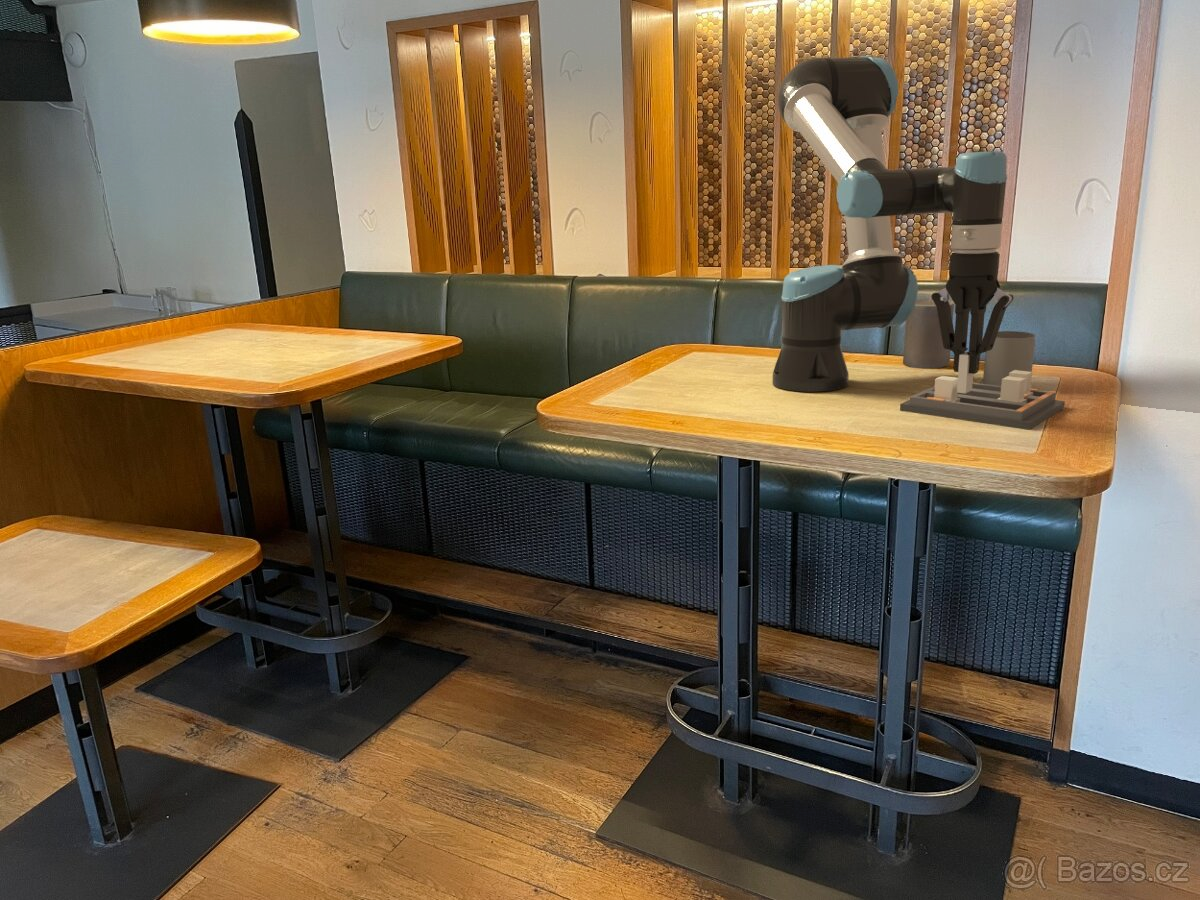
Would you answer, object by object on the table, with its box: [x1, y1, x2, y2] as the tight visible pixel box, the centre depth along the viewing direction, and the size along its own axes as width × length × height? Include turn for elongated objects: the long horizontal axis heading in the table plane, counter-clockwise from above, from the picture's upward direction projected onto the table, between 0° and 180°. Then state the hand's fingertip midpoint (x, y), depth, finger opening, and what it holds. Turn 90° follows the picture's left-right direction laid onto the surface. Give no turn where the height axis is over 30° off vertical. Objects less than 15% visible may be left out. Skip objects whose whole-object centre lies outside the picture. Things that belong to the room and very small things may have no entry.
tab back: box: [1009, 370, 1033, 396], centre depth 152 cm, size 4×3×5 cm
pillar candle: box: [902, 295, 955, 370], centre depth 188 cm, size 10×10×15 cm
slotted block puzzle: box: [899, 382, 1066, 431], centre depth 152 cm, size 22×17×3 cm
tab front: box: [933, 375, 960, 402], centre depth 151 cm, size 4×3×5 cm
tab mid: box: [998, 376, 1027, 403], centre depth 148 cm, size 4×3×5 cm
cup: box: [982, 330, 1036, 386], centre depth 167 cm, size 8×8×10 cm
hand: (964, 391), depth 148 cm, fingers closed
